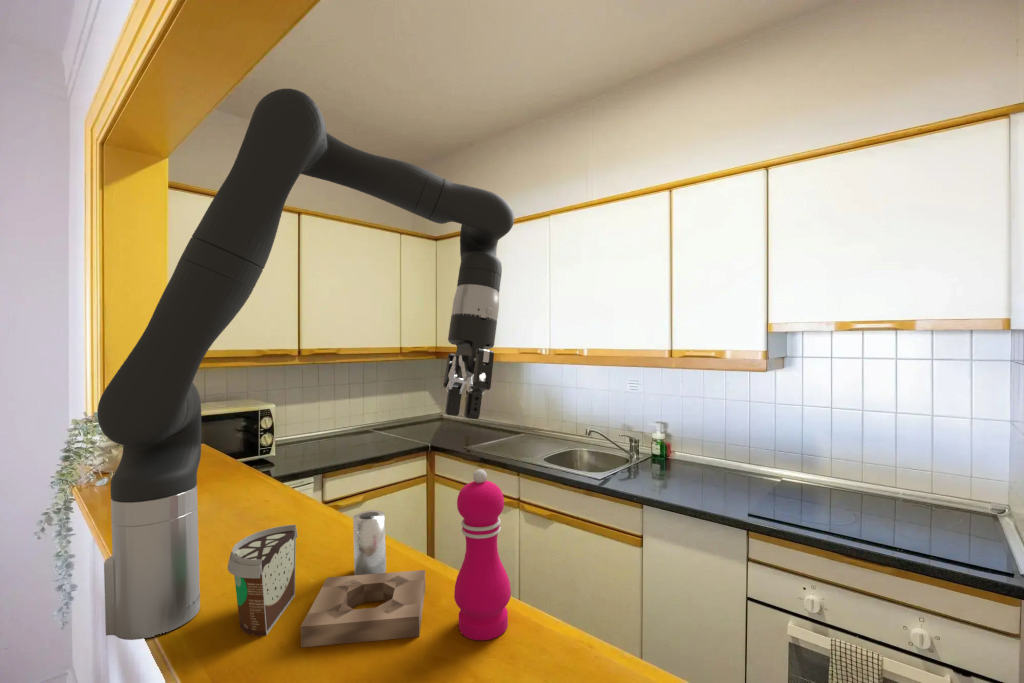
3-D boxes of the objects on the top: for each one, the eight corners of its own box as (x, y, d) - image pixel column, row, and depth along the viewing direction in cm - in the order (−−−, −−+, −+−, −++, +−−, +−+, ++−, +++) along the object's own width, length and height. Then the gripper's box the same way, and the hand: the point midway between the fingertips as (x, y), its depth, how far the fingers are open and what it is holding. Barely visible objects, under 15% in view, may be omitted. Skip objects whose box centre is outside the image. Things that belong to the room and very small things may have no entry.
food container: (256, 592, 70) (254, 525, 70) (298, 590, 71) (297, 523, 71) (208, 646, 58) (206, 564, 58) (261, 643, 58) (259, 561, 58)
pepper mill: (460, 649, 56) (456, 480, 56) (450, 615, 63) (447, 465, 63) (518, 637, 58) (515, 474, 58) (503, 605, 65) (500, 460, 65)
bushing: (351, 581, 73) (350, 522, 73) (358, 566, 78) (356, 511, 78) (383, 578, 74) (382, 520, 74) (388, 564, 78) (386, 509, 78)
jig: (301, 647, 57) (300, 626, 57) (327, 594, 69) (327, 577, 69) (419, 636, 59) (418, 616, 59) (425, 586, 71) (425, 569, 71)
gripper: (438, 318, 82) (424, 412, 80) (469, 305, 70) (454, 417, 67) (478, 326, 86) (466, 417, 83) (514, 316, 73) (502, 422, 71)
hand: (461, 416), depth 75 cm, fingers open, 8 cm apart
